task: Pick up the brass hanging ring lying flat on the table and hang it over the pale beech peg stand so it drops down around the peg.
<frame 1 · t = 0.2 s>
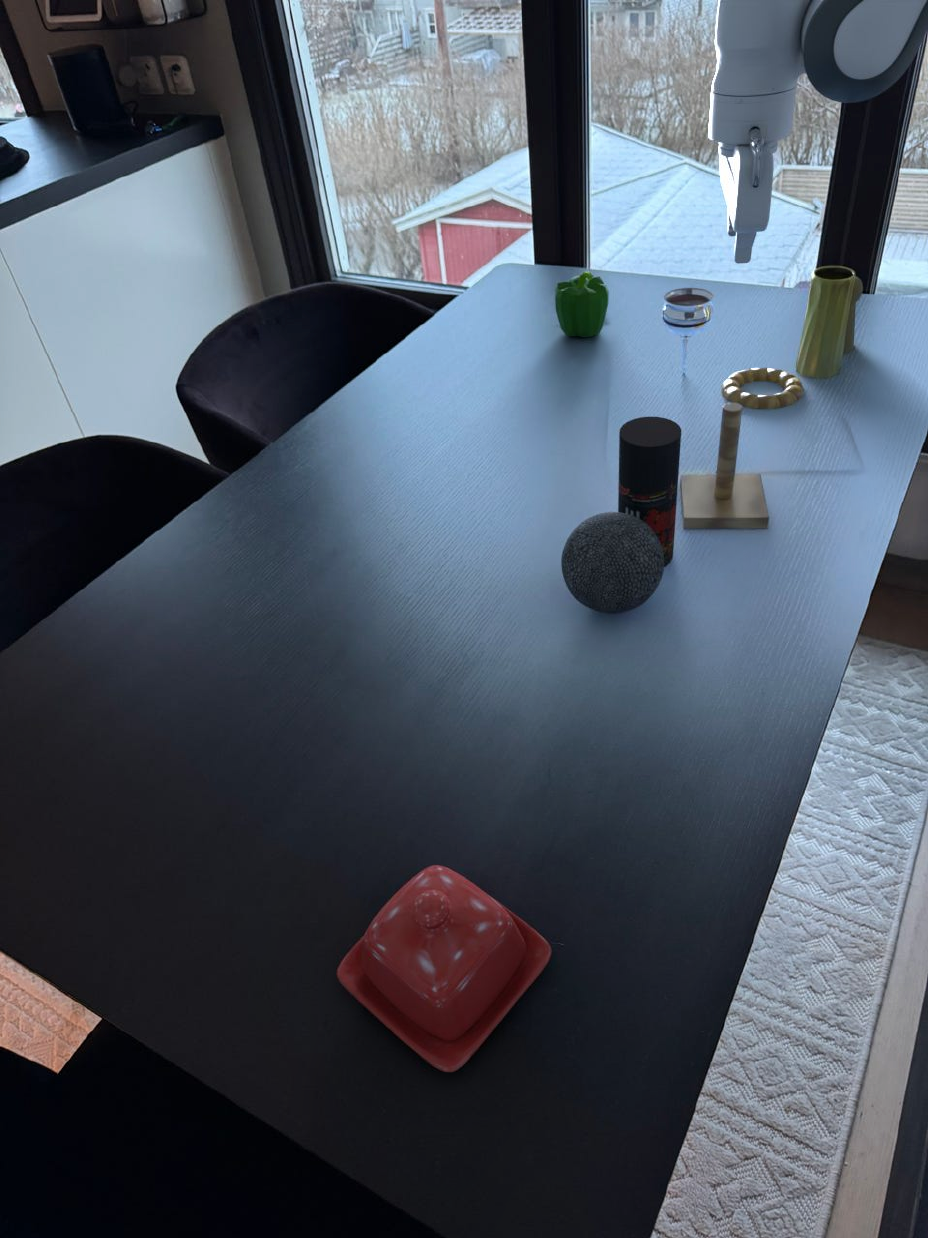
hand: (738, 247, 106), 21 cm above the table, tool pointing down, fingers open, 8 cm apart
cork: (830, 355, 127), on the table
decorative ball: (611, 603, 90), on the table
ring: (761, 390, 118), point 1 cm above the table
deodorant: (645, 556, 96), on the table
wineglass: (682, 381, 125), on the table
butter dish: (446, 971, 62), on the table
vase: (816, 378, 122), on the table
bell pepper: (581, 333, 141), on the table
post: (722, 506, 101), on the table
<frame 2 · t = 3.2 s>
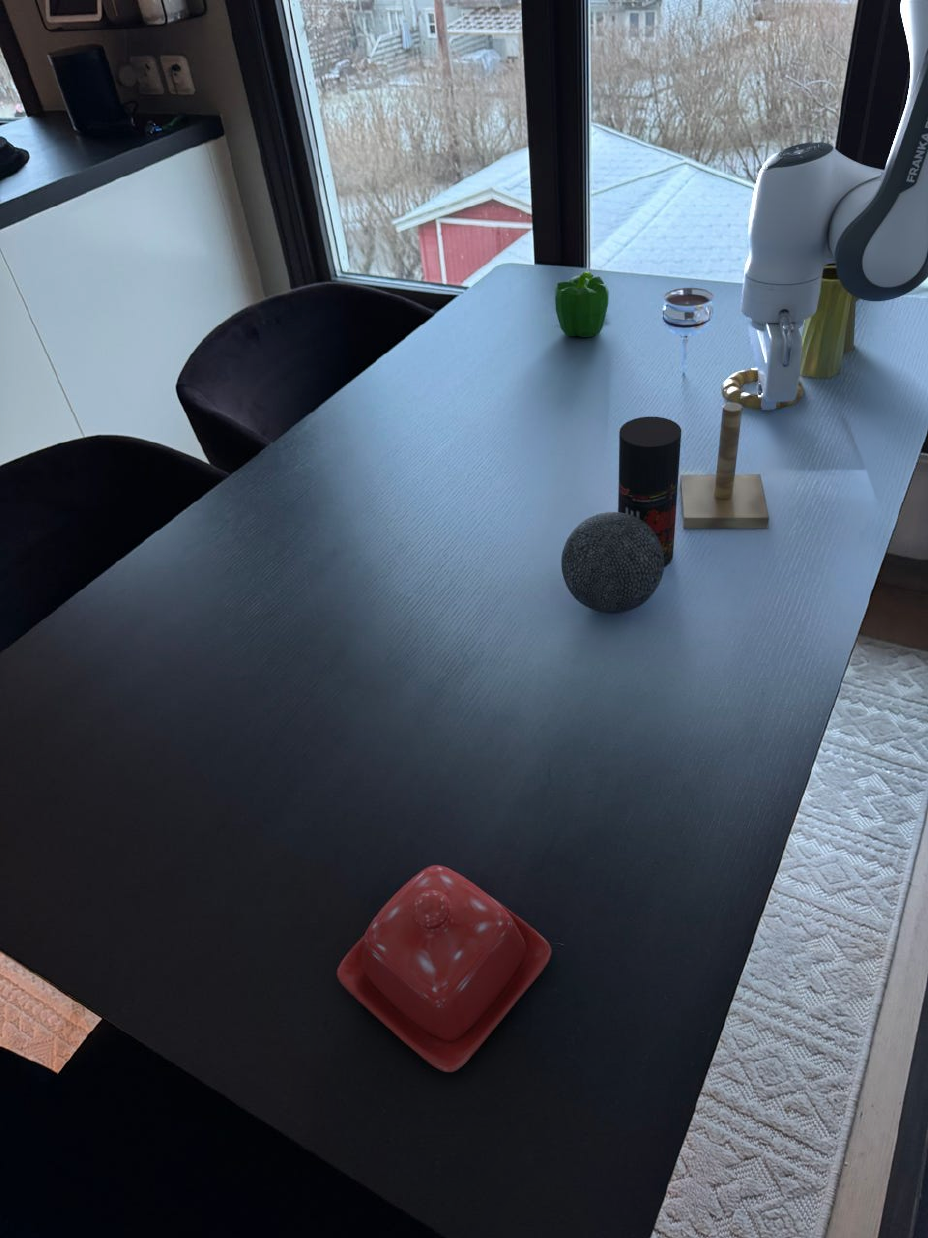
hand: (766, 400, 115), 2 cm above the table, tool pointing down, fingers closed on ring, 2 cm apart
ring: (762, 390, 118), point 1 cm above the table, touching gripper
everything else where it was.
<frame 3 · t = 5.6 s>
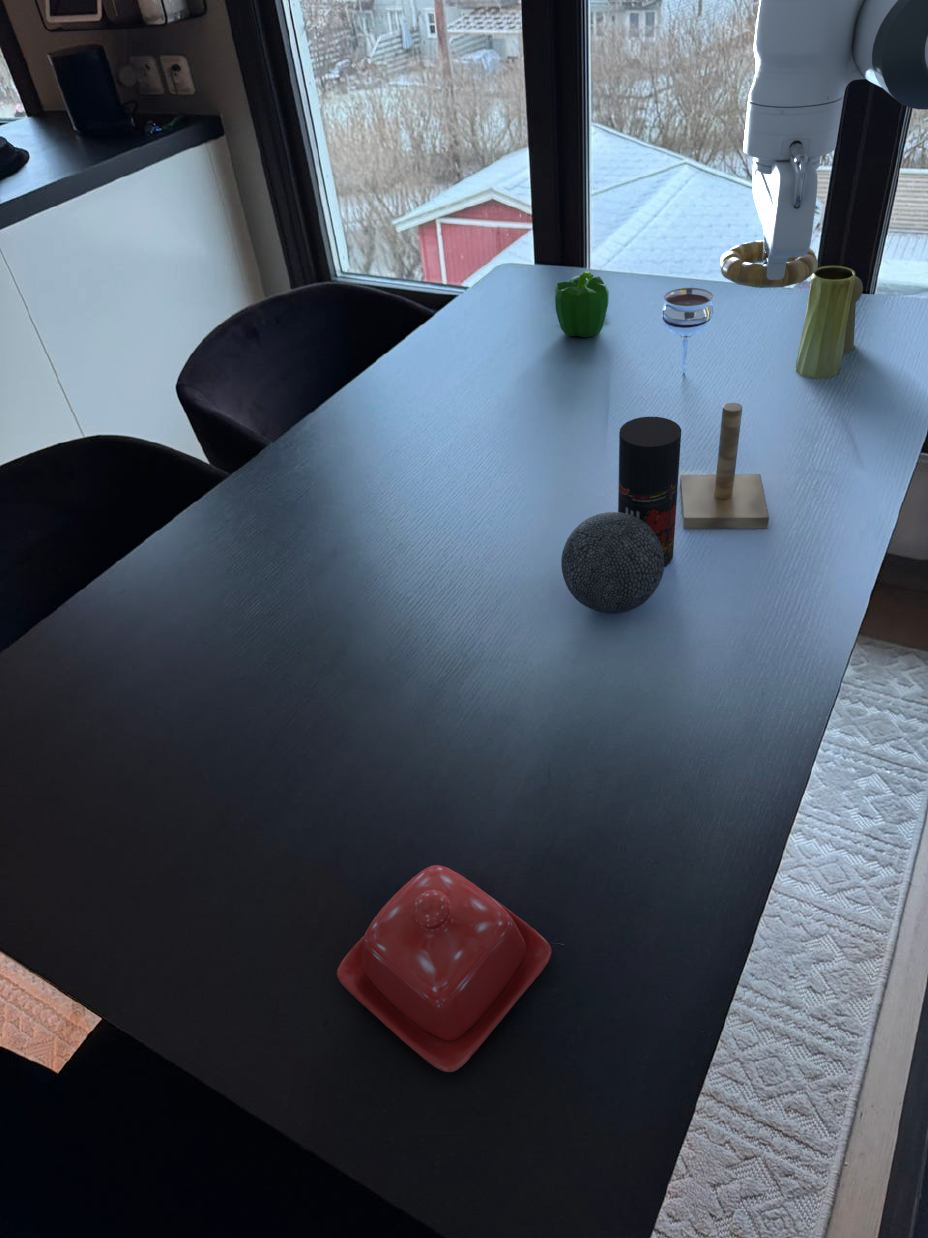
hand: (772, 271, 97), 21 cm above the table, tool pointing down, fingers closed on ring, 2 cm apart
ring: (767, 263, 100), point 21 cm above the table, touching gripper
everything else where it was.
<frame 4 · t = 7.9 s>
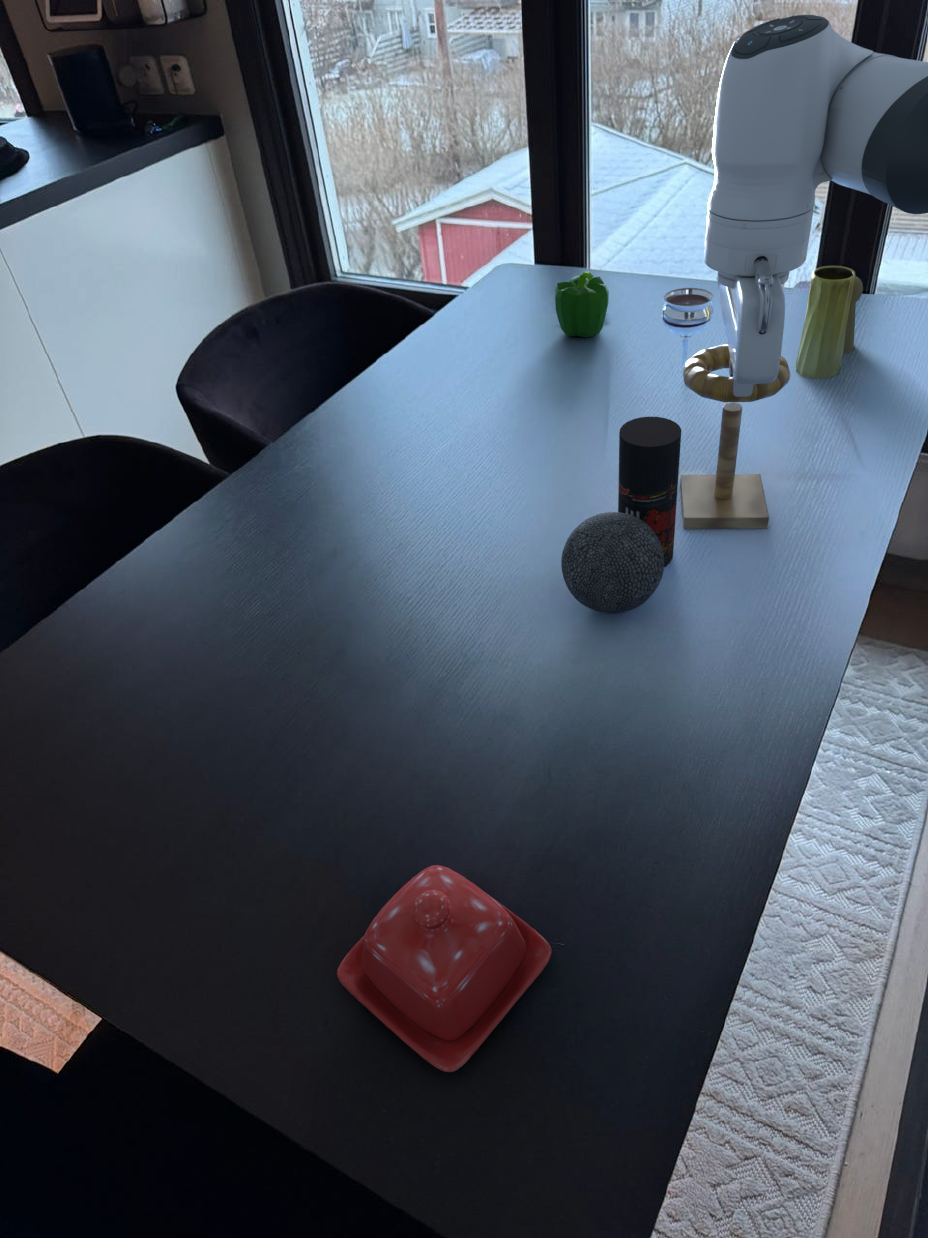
hand: (739, 384, 87), 17 cm above the table, tool pointing down, fingers closed on ring, 2 cm apart
ring: (735, 372, 90), point 16 cm above the table, touching gripper
everything else where it was.
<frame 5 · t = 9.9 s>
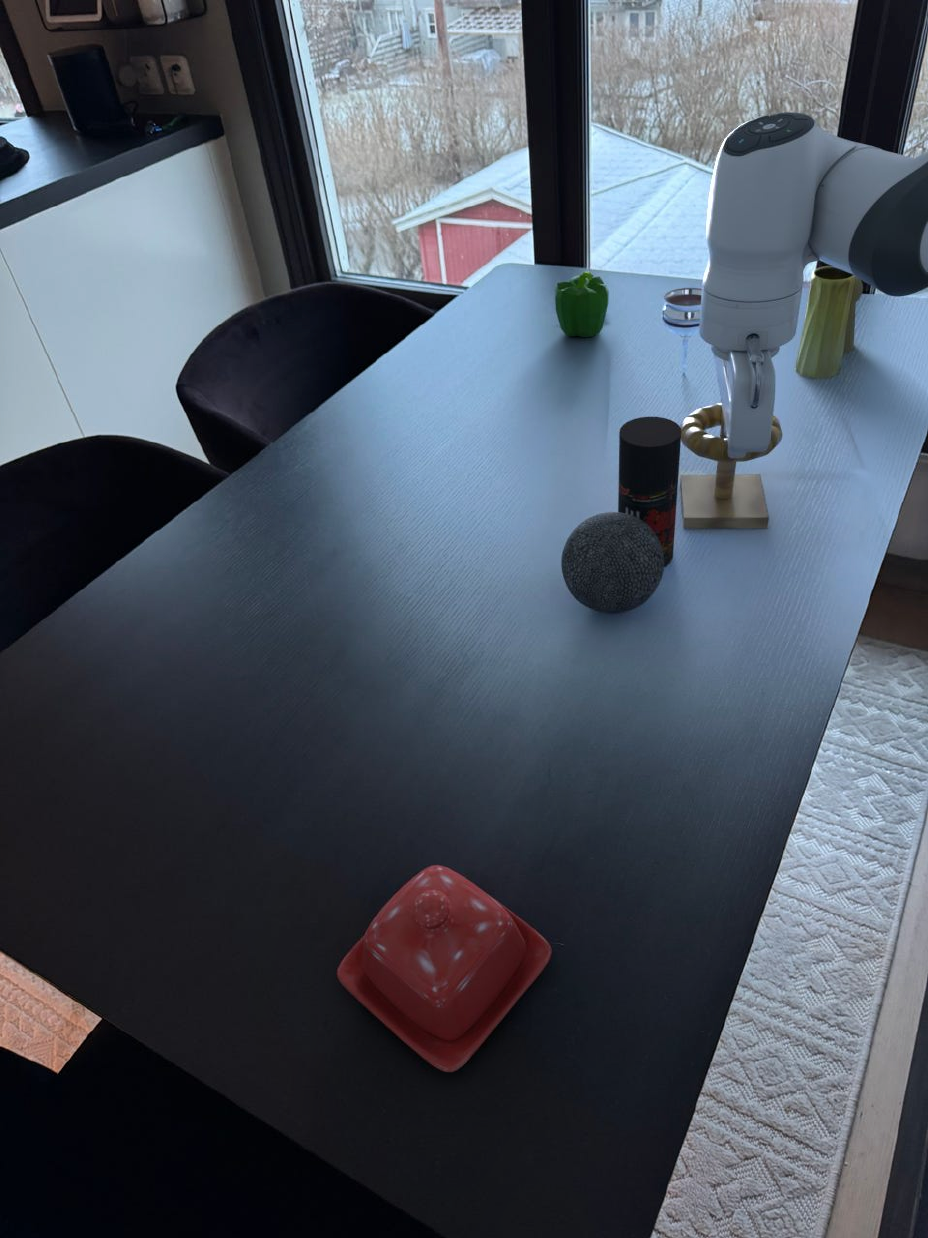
hand: (734, 445, 92), 10 cm above the table, tool pointing down, fingers closed on ring, 2 cm apart
ring: (730, 431, 95), point 10 cm above the table, touching gripper
everything else where it was.
when the fingers open (11 cm above the table, at t = 13.1 s): ring drops 8 cm, resting on post.
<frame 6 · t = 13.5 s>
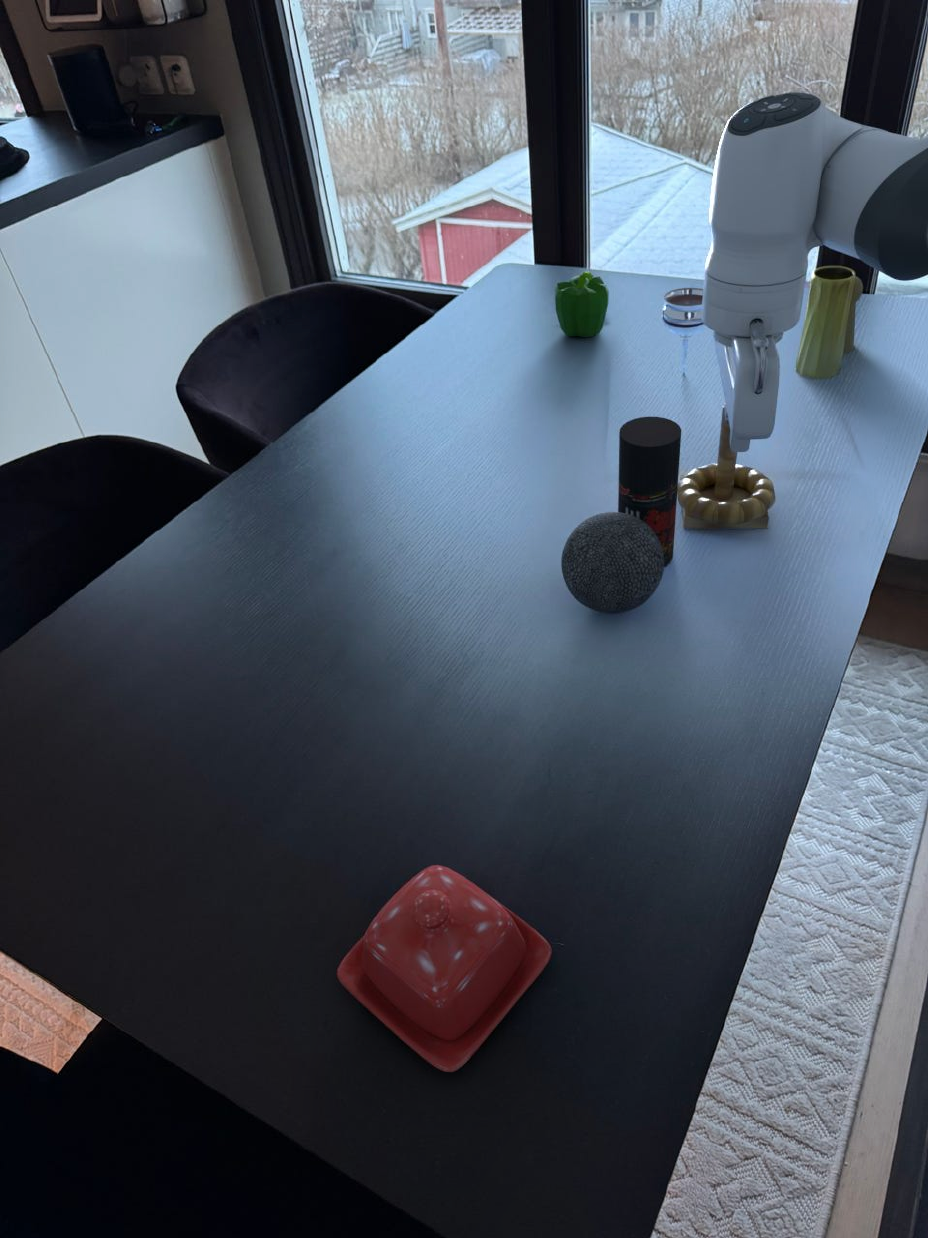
hand: (736, 434, 90), 12 cm above the table, tool pointing down, fingers open, 4 cm apart
ring: (725, 492, 98), point 3 cm above the table, touching post
everything else where it was.
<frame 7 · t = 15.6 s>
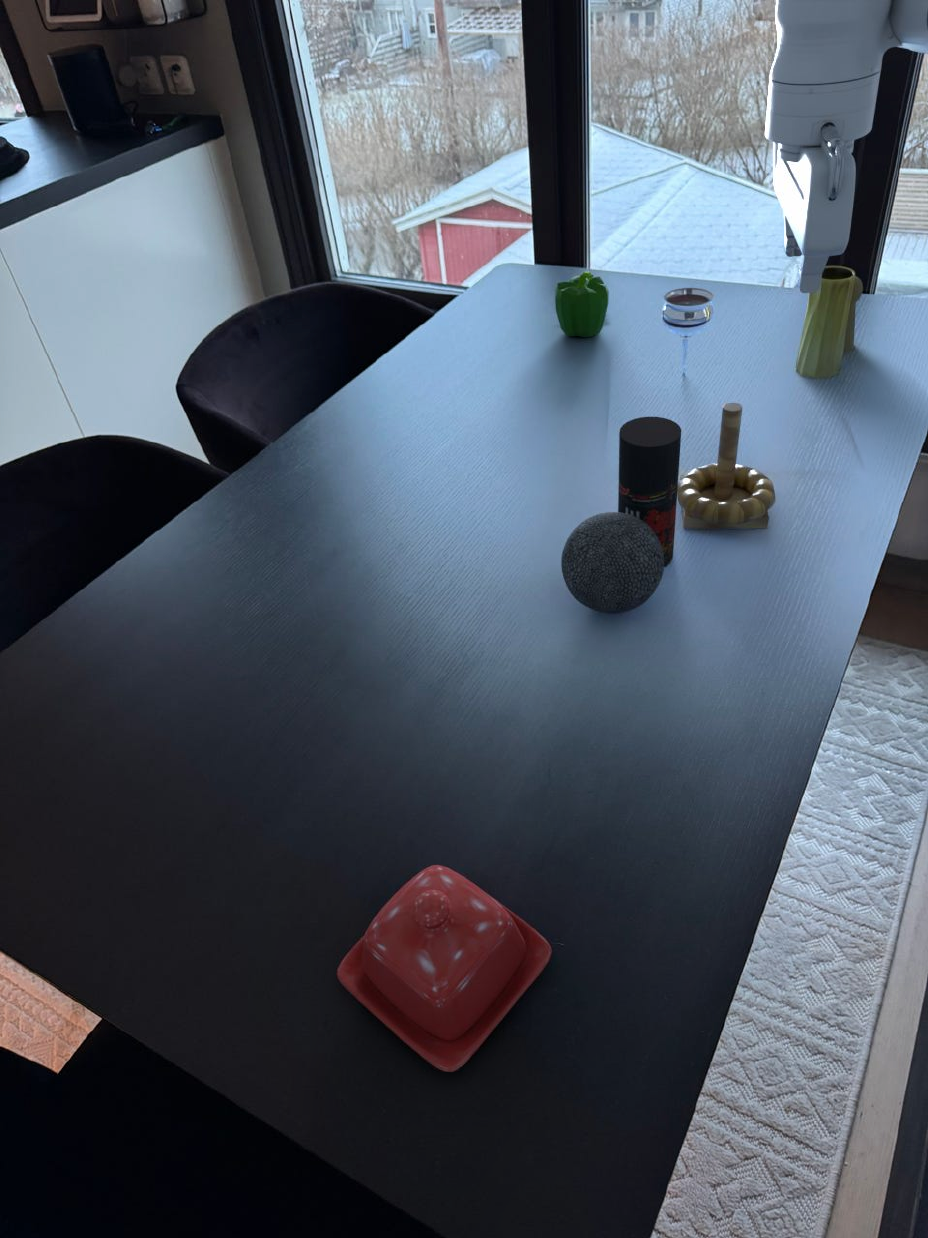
hand: (800, 271, 86), 25 cm above the table, tool pointing down, fingers open, 8 cm apart
nothing on the table moved.
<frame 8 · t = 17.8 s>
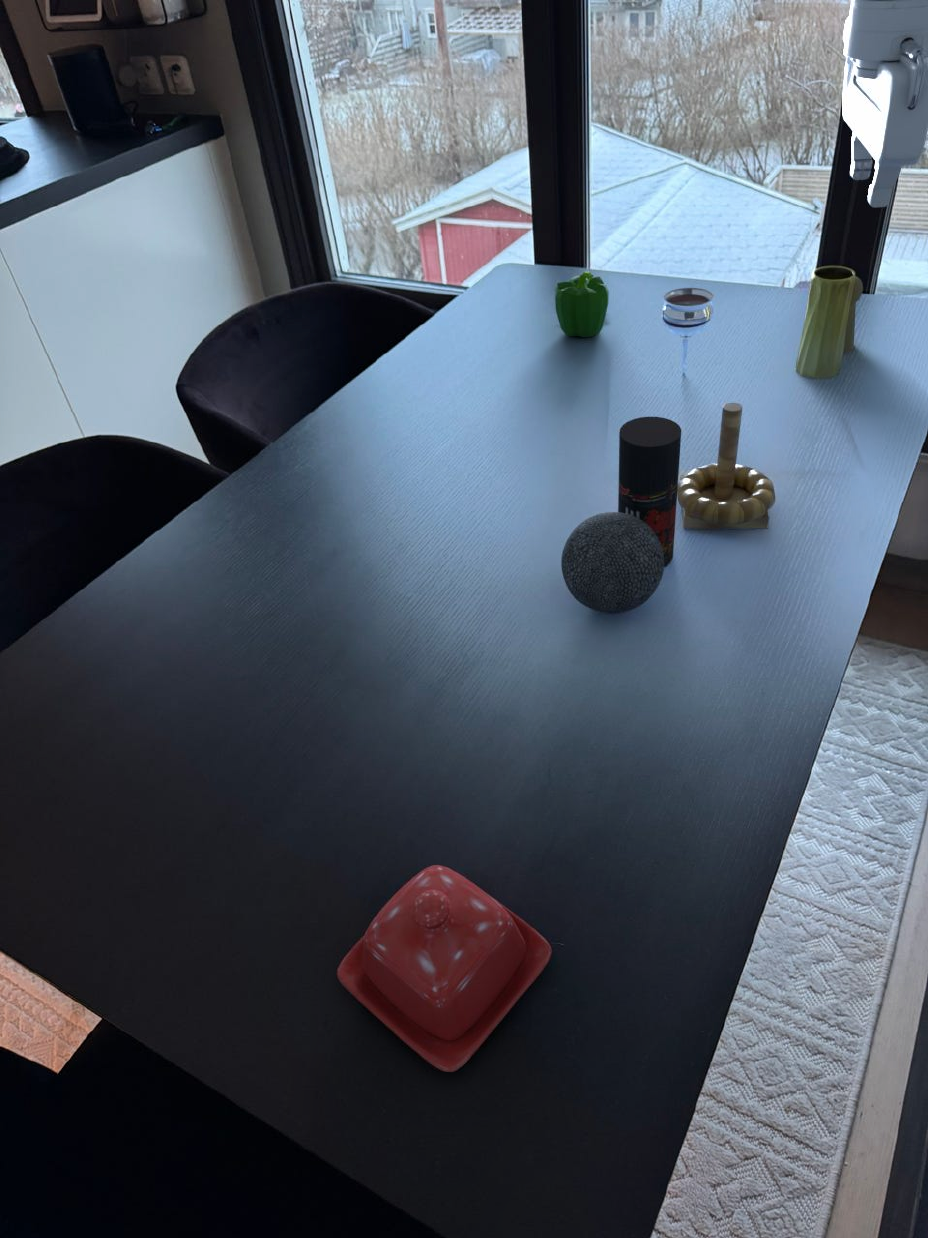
hand: (868, 191, 90), 29 cm above the table, tool pointing down, fingers open, 8 cm apart
nothing on the table moved.
at the end: ring 1.4 cm off-centre on the post, point 2.7 cm above the post's base; the gripper is holding nothing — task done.
